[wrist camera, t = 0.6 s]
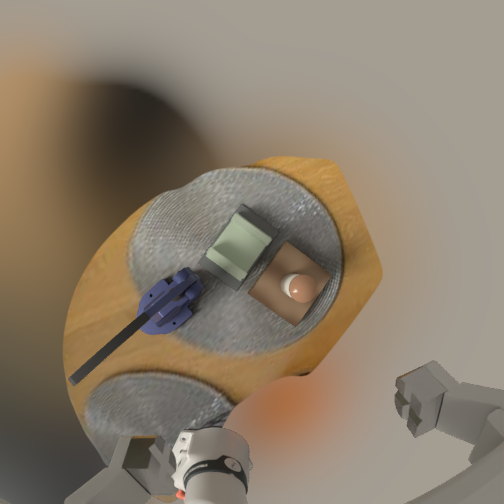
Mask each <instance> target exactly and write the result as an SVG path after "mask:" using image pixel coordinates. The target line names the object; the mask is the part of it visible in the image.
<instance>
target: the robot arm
mask: <svg viewBox="0 0 504 504" xmlns="http://www.w3.org/2000/svg"><path fill="white" fill-rule="evenodd" d="M395 386H396V387H397V389H398V391H397V392H396V394H395V405H396V409H397V411H398V413H399V415H400V416H401V418H404V419H406V420H408V421H407V427H408V428H409V430H410V431H411V433H412V434H413V436H414V437H415V438H416V437H418V436H420V435H422V434H424V433H426V432H428V431H430V430H432V429H434V428H436V429H437V430H439V431H442V432H444V433H446V434H449V435H452V436H454V437H456V438H458V439H461V440H463V441H466V442H468V443H471V444H474V445H475V446H474V448H473V450H472V452H471V454H470V456H469V461H470V463H471V464H472V465H471V466H470V467H468V468H467V469H466V470H464V471H462V472H461V473H459V474H458V475H456V476H454V477H453V478H451V479H449V480H448V481H446V482H444V483H443V484H441V485H439V486H438V487H436V488H434V489H432V490H431V491H429V492H427V493H425V494H423V495H421V496H419V497H417V498H415V499H413V500H411V501H409V502H407V503H405V504H504V390H500V389H494V388H489V387H484V386H479V385H474V384H469V383H464V382H462V383H461V384H459V383H458V382H457V381H456V380H455V379H454V378H453V377H452V376H451V375H450V374H449V373H448V372H447V371H446V370H445V369H444V368H443V367H442V366H441V365H440V364H438V363H437V362H436V361H431V362H429V363H427V364H425V365H423V366H421V367H419V368H417V369H415V370H412V371H410V372H408V373H406V374H404V375H402V376H399V377H398V378H397V379H396V385H395ZM183 438H185V439H183ZM251 469H252V462H251V460H250V459H249V446H248V444H247V442H246V441H245V439H244V438H243V437H242V436H240V435H239V434H237V433H236V432H234V431H231V430H229V429H225V428H218V427H211V428H205V429H201V430H182V431H181V433H180V435H179V437H178V439H177V441H176V443H175V445H174V447H173V449H172V450H171V449H170V448H168V447H166V446H165V440H164V439H163V438H162V436H159V435H152V436H122V437H120V438H119V441H118V443H117V446H116V449H115V452H114V454H113V457H112V460H111V463H110V465H109V468H104V469H103V470H102V471H101V472H99V473H98V474H97V475H96V476H95V477H93V478H92V479H91V480H89V481H88V482H87V483H86V484H84V485H83V486H82V487H80V488H79V489H78V490H77V491H75V492H74V493H73V494H71V495H70V496H69V497H67V498H66V499H65V502H64V504H146V502H147V501H148V500H149V499H150V497H151V495H173V489H174V486H175V487H176V488H178V489H179V491H178V492H177V494H176V496H177V497H178V498H182V499H183V500H184V504H248V503H247V498H246V494H247V491H248V483H249V471H250V470H251ZM0 504H9V503H7V502H5V501H3V500H2V499H0Z"/></svg>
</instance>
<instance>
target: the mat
mask: <svg viewBox="0 0 504 504" xmlns="http://www.w3.org/2000/svg"><path fill="white" fill-rule="evenodd" d="M235 213H236V214H237V213H238V214H240V215H241V216H242V217H244V218H245V219H246V220H248V221H249V222H251V223H252V224H253V225H255V226H256V227H257V228H259V229H260V230H262V231H263V232H264V233H266V234H267V235H268V236H270V237H271V239H272V240H271V242H272V241H273V239H274V238H275V236H276V235H277V234H278V232H279V231H278V230H276V229H275V228H273V227H272V226H271V225H269V224H268V223H267V222H265V221H264V220H263V219H261V218H260V217H258V216H257V215H256V214H254V213H253V212H252V211H250V210H249V209H247V208H246V207H245V206H243V205H242V204H241V205H240V206H239V207H238V209H237V210H236V211H235ZM235 213H234V214H235ZM234 214H233V215H232V217H233V216H234ZM232 217H231V218H232ZM231 218H230V219H229V221H228V222H227V224H226V225H225V226H224V228H223V229H222V230H221V232H220V233H219V234H218V236H217V237H216V238H215V240H214V241H213V242H212V244H211V245H210V247H212V246H213V245H214V244H215V242H216V241H217V239H218V238H219V237H220V235H221V234H222V233H223V231H224V230H225V229H226V227H227V226H228V225H229V223H230V222H231ZM271 242H270V243H271ZM270 243H269V244H268V245H267V246H266V247H265V248H264V249H263V251H262V252H261V253H260V255H259V256H258V258H257V259H256V260H255V262H254V263H253V265H252V266H251V267H250V269H249V270H248V271H247V275H248V274H249V273H250V271H251V270H252V268H253V267H254V266H255V264H256V263H257V262H258V260H259V259H260V257H261V256H262V255H263V253H264V252H265V250H266V249H267V248H268V246H269V245H270ZM210 247H209V248H210ZM209 248H208V249H209ZM208 249H207V251H208ZM207 251H206V252H205V253H204V255H203V256H202V258H201V259H200V260H199V262H198V264H200V265H201V266H202V267H204V268H205V269H206V270H208V271H209V272H210V273H212V274H213V275H215V276H216V277H217V278H219V279H220V280H221V281H223V282H224V283H226V284H227V285H228V286H230V287H231V288H233V289H234V290H235V291H237V289H238V288H239V286H240V285H241V284H242V282H243V281H244V280H245V278H246V277H247V275H246V276H245V278H244V279H242V280H241V281H239V280H238V279H236V278H235V277H234V276H232V275H231V274H230V273H228V272H227V271H225V270H224V269H223V268H221V267H220V266H219V265H217V264H216V263H214V262H213V261H212V260H210V259H209V258H208V257H206V255H207Z"/></svg>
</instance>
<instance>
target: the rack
mask: <svg viewBox="0 0 504 504" xmlns="http://www.w3.org/2000/svg"><path fill="white" fill-rule="evenodd" d="M271 240H272V239H271V237H270V236H268V235H267V234H266V233H264V232H263V231H262V230H260V229H259V228H257V227H256V226H255V225H253V224H252V223H251V222H249V221H248V220H246V219H245V218H244V217H242V216H241V215H240V214H238V213H237V214H236V213H235V214H234V216H233V217H232V218H231V222H230V223H229V225H228V226H227V227H226V229H225V230H224V231H223V233H222V234H221V235H220V237H219V238H218V239H217V241H216V242H215V244H214V245H213V246H212V247H210V248H209V249H208V251H207V255H206V257H208V258H209V259H210V260H212V261H213V262H214V263H216V264H217V265H219V266H220V267H221V268H223V269H224V270H225V271H227V272H228V273H230V274H231V275H232V276H234V277H235V278H236V279H238V280H239V281H241V280H242V279H244V278H245V276H246V275H247V271H248V270H249V269H250V267H251V266H252V265H253V263H254V262H255V260H256V259H257V258H258V256H259V255H260V253H261V252H262V251H263V249H264V248H265V247H266V246H267V245H268V244H269V243H270V242H271Z"/></svg>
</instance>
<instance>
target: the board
mask: <svg viewBox="0 0 504 504" xmlns="http://www.w3.org/2000/svg"><path fill="white" fill-rule="evenodd" d="M290 273H293V274H299V275H308V276H310V277H312V278H313V279H314V280H315V282H316V285H317V292H316V295H315V296H314V298H313V299H312V300H310V301H309V302H306V303H300V302H297V301H296V300H294V299H293V298H291V297H289V296H288V295H286V294H284V293H283V292H282V290H281V287H280V283H281V280H282V278H283V277H284V276H285V275H287V274H290ZM331 276H332V275H331V274H329V273H328V272H327V271H325V270H324V269H323V268H322V267H320V266H319V265H318V264H316V263H315V262H314V261H312V260H311V259H310V258H308V257H307V256H306V255H304V254H303V253H302V252H300V251H299V250H298V249H296V248H295V247H294V246H292V245H291V244H290V243H288V242H287V241H285V242H284V243H283V244H282V246H281V247H280V248H279V250H278V251H277V253H276V254H275V255H274V257H273V258H272V260H271V261H270V262H269V264H268V265H267V267H266V268H265V269H264V271H263V272H262V274H261V275H260V276H259V278H258V279H257V280H256V282H255V283H254V285H253V286H252V287H251V289H250V290H249V292H248V294H249V295H251V296H252V297H253V298H255V299H256V300H258V301H259V302H260V303H262V304H263V305H265V306H266V307H268V308H269V309H270V310H272V311H273V312H275V313H276V314H278V315H279V316H280V317H282V318H283V319H285V320H286V321H288V322H289V323H291V324H292V325H294V326H295V327H296V326H297V324H298V323H299V322H300V320H301V319H302V318H303V316H304V315H305V313H306V312H307V311H308V309H309V308H310V306H311V305H312V303H313V302H314V301H315V299H316V298H317V296H318V295H319V293H320V292H321V290H322V289H323V288H324V286H325V285H326V283H327V282H328V280H329V279H330V277H331Z"/></svg>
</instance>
